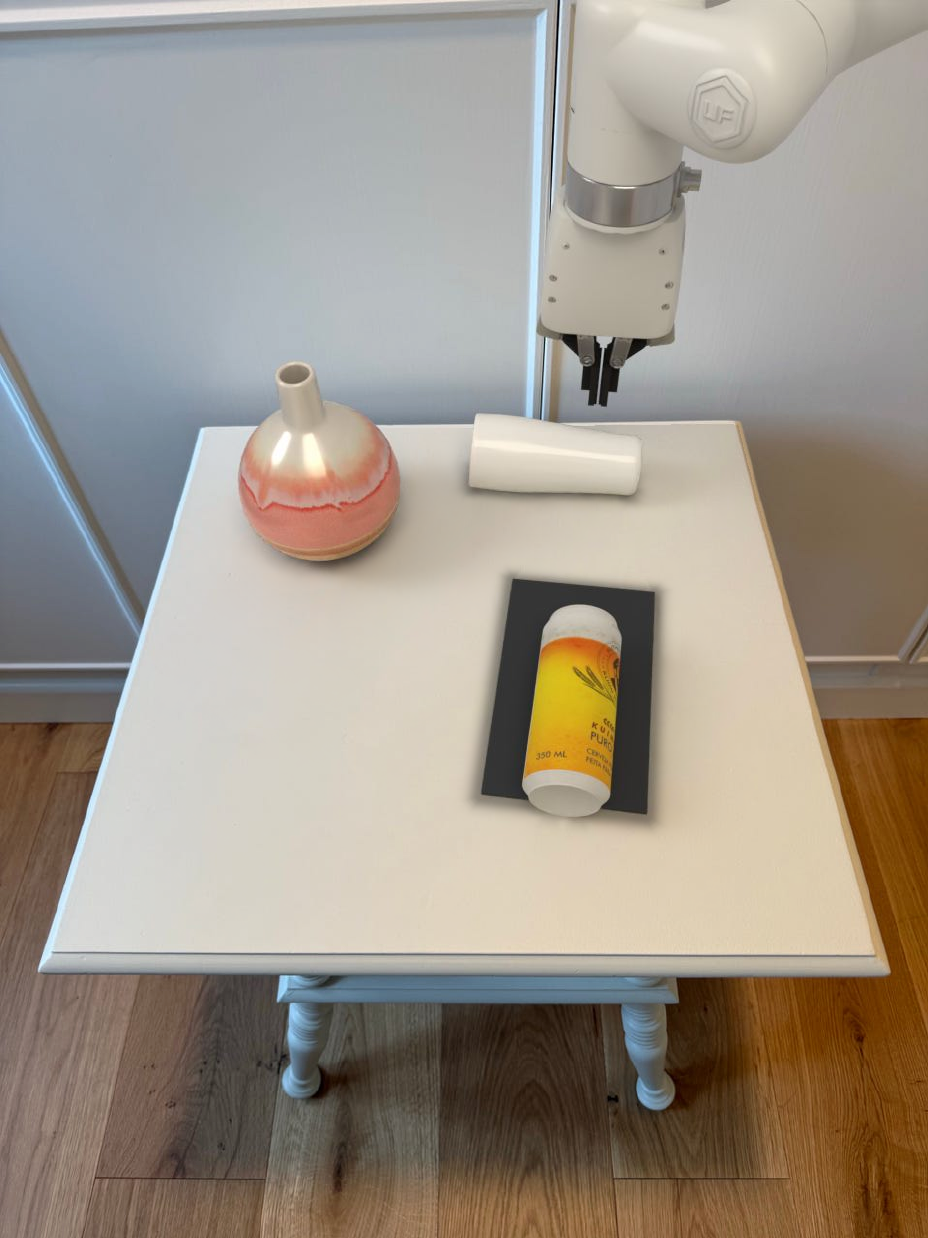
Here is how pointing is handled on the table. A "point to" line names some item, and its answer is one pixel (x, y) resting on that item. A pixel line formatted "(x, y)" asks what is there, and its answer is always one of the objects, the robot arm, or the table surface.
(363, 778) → the table surface
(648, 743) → the mat
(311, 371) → the vase
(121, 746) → the table surface
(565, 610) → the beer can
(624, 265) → the robot arm
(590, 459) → the white tumbler
